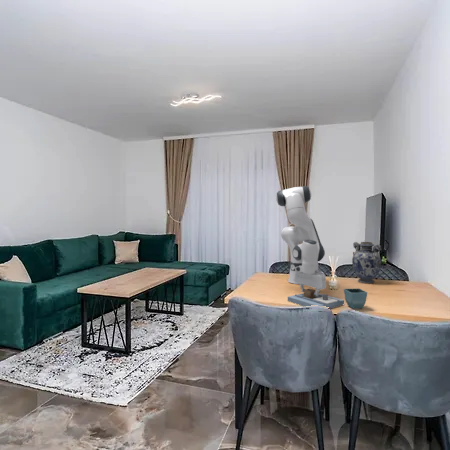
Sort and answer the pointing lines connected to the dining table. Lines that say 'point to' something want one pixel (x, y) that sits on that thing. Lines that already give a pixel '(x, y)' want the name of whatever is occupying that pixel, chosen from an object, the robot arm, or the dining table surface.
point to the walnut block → (309, 293)
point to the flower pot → (355, 297)
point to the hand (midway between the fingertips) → (309, 293)
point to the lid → (325, 299)
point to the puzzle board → (313, 301)
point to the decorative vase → (366, 261)
